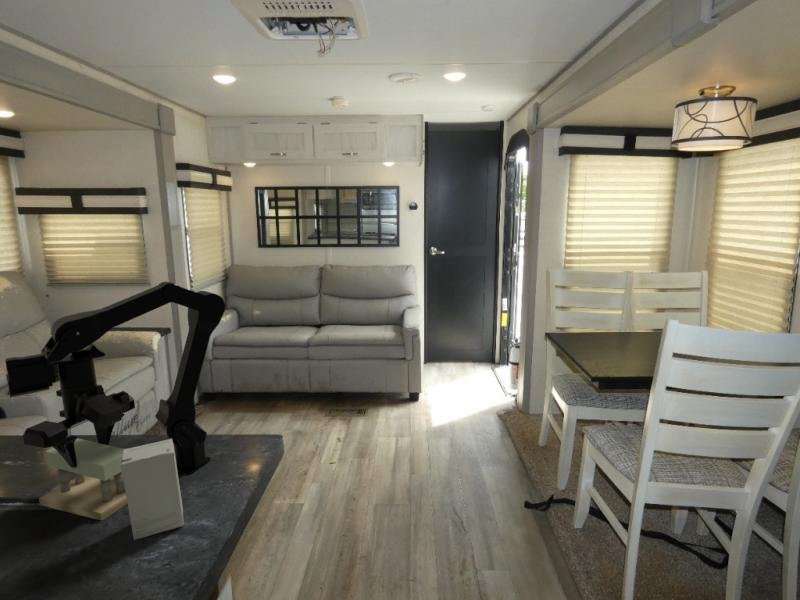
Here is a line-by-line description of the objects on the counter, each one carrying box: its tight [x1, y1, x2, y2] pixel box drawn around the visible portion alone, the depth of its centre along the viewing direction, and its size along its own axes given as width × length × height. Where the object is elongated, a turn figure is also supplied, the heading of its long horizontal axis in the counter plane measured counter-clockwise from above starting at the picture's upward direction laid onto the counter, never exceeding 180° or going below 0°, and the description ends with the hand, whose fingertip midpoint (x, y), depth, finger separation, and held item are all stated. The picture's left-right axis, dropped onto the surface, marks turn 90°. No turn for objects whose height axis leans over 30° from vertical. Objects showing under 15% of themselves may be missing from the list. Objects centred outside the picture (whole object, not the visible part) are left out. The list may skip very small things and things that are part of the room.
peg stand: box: [38, 468, 128, 521], centre depth 94 cm, size 16×10×6 cm, turn 71°
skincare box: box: [121, 438, 185, 541], centre depth 85 cm, size 8×6×15 cm
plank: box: [45, 437, 125, 481], centre depth 93 cm, size 16×6×3 cm, turn 68°
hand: (89, 459), depth 93 cm, fingers closed on plank, 6 cm apart
